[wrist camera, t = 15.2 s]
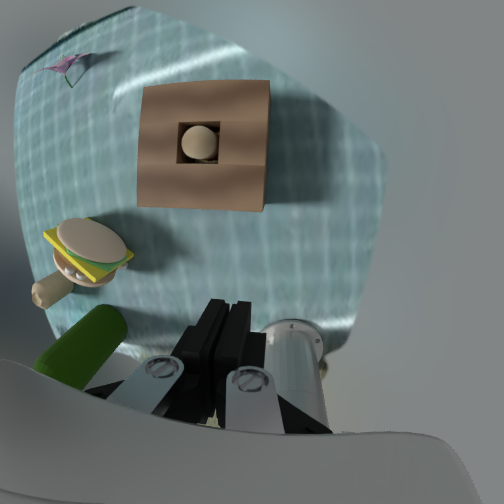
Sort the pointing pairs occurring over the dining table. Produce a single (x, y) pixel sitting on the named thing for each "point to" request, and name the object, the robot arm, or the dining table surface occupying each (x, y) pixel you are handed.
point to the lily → (64, 65)
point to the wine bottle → (83, 347)
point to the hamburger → (87, 251)
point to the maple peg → (201, 143)
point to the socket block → (230, 145)
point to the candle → (51, 289)
